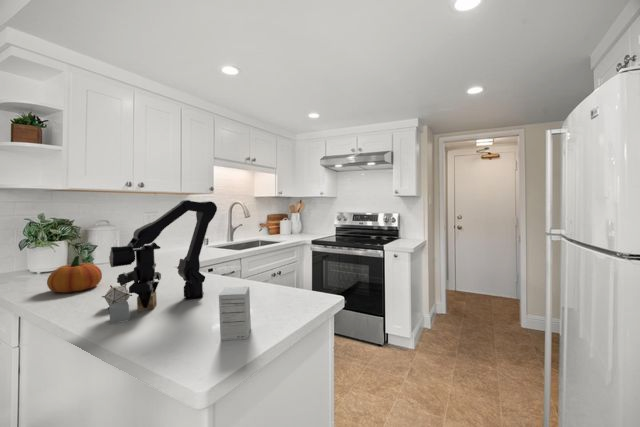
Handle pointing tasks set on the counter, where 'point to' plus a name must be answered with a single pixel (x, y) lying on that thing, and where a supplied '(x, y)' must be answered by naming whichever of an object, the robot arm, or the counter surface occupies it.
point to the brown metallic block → (150, 306)
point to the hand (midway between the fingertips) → (147, 305)
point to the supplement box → (234, 313)
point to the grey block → (119, 312)
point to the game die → (117, 295)
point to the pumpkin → (74, 277)
